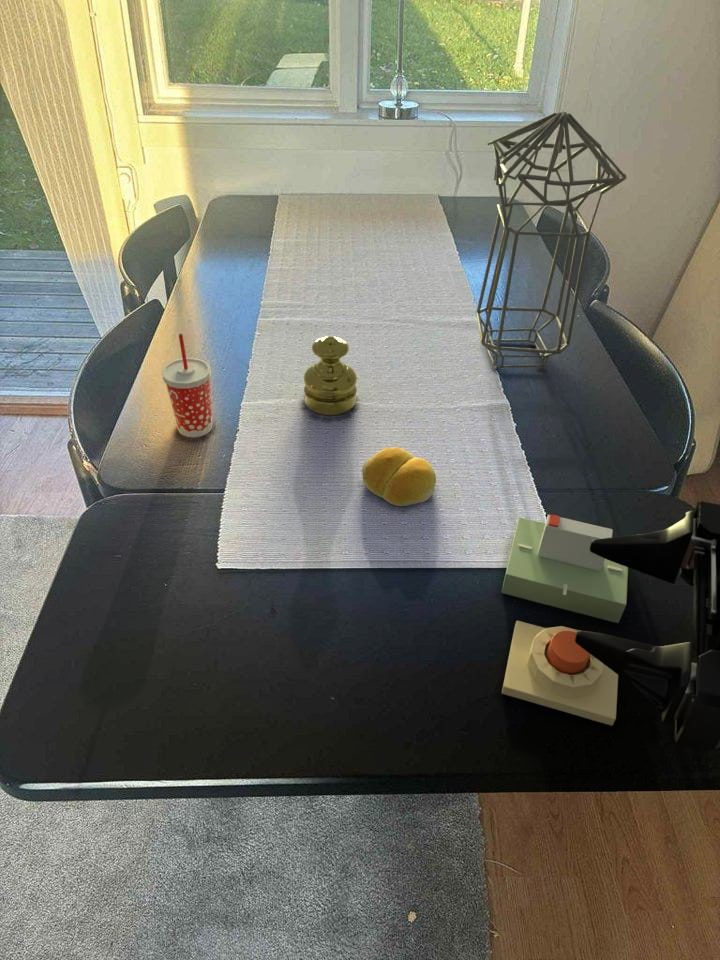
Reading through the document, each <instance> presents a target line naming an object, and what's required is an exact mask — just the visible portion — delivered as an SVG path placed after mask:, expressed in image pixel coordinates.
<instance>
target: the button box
mask: <svg viewBox="0 0 720 960" xmlns="http://www.w3.org/2000/svg"><path fill="white" fill-rule="evenodd" d="M560 631H573V632H576V633H577V631H580V630H579V629H574V628H571V627H568V626H563V625H560V626H553V627H543V626H539V625H536V624H533V623H532V624H531V623H528V622H525V621H521V620H516V621H515V624H514V627H513V633H512V639H511V643H510V649H509V653H508V658H507V664H506V669H505V674H504V680H503V683H502V688H501V694H502V695H506V696H509V697H512V698H516V699H519V700H522V701H526V702H530V703H532V704H536V705H539V706H543V707H546V708H550V709H553V710H556V711H561V712H564V713H568V714H571V715H573V716H576V717H580V718H584V719H588V720H591V721H595V722H598V723H602V724H605V725H609V726H611V727H612V726H614V723H615V721H616V719H617V704H618V689H619V688H618V686H619V675H618V674H616V673H615V672H614V671H612V670H611V669H610V668H608V667H607V666H606V665H604V664H603V663H602V662H600V661H599V660H598V659H596V658H595V657H594V656H592V655H591V654H590V657H589V659H588V662H587V664H586V667H585V668H584V669H583V670H582V671H581V672H579V673H576V674H567V673H563V672H561V671H559V670H557V669H556V668H554V667H553V666H552V665H551V663H550V662H549V660H548V656H547V651H548V647H549V645H550V642H551V639H552V637H553V636H554V635H555V634H556V633H558V632H560Z"/></svg>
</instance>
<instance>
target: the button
mask: <svg viewBox="0 0 720 960" xmlns="http://www.w3.org/2000/svg"><path fill="white" fill-rule="evenodd" d="M575 638H576V632H573V631H560V632H558V633H556V634H555V635H554V636H553V637H552V639H551V642H550V645H549V647H548V651H547V656H548V660H549V662H550V663H551V665H552V666H553V667H554V668H556V669H557V670H559V671H561V672H563V673H567V674H576V673H579V672H581V671H582V670H583V669H584V668H585V667H586V664H587V662H588V659H589V657H590V653H588V652H587V651H586V650H584V649H583V648H582V647H580V646H579V645H578V644H576V642H575Z"/></svg>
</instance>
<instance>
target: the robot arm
mask: <svg viewBox="0 0 720 960" xmlns="http://www.w3.org/2000/svg"><path fill="white" fill-rule="evenodd" d="M590 552H592V553H594V554H596V555H598V556H600V557H602V558H605V559H607V560H609V561H612V562H615V563H617V564H620V565H623V566H626V567H628V569H632V570H634V571H637V572H640V573H642V574H645V575H648V576H650V577H653V578H656V579H658V580H661V581H664V582H666V583H669V584H673V585H675V584H676V582H677V578H678V577H680V579H682V580H683V581H684V582H685V583H686V584H687V585H689V586H690V587H693V599H692V601H693V603H692V641H686V642H680V643H673V644H669V645H664V646H663V645H662V646H661V645H660V646H659V645H654V644H650V643H645V642H641V641H637V640H632V639H629V638H624V637H620V636H616V635H611V634H606V633H602V632H595V631H588V630H579V631H577V633H576V638H575V642H576V644H578V645H579V646H580V647H582V648H583V649H584V650H586V651H587V652H588V653H590V654H591V655H592V656H594V657H595V658H596V659H598V660H599V661H600V662H602V663H603V664H604V665H606V666H607V667H608V668H610V669H611V670H612V671H614V672H615V673H616V674H618V677H620V678H621V679H623V681H625V682H626V683H627V684H629V685H630V686H631V687H632V688H634V690H636V691H637V692H638V693H639V694H640V695H641V696H643V697H644V699H646V700H647V701H648V702H649V703H650V704H651V705H653V706H654V707H655V709H657V710H658V711H659V712H660V714H661V722H662V723H663V724H665V725H669V726H670V725H672V722H673V720H674V743H675V744H676V745H678V746H682V747H686V748H689V749H692V750H696V751H700V752H706V751H713V750H714V751H715V750H717V749H720V504H719V503H714V502H708V501H703V500H698V501H697V502H696V505H695V508H694V509H693V510H692V509H691V510H688V511H686V512H684V514H683V515H682V518H681V520H679V521H677V522H676V523H674V524H673V525H671V526H669V527H667V528H665V529H661V530H656V531H652V532H645V533H638V534H629V535H621V536H612V537H611V538H603V539H594V540H592V541H591V545H590ZM707 602H708V603H707ZM708 626H709V627H708ZM707 627H708V628H707ZM708 629H709V630H708ZM708 631H709V633H707V632H708Z"/></svg>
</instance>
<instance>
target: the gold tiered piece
mask: <svg viewBox="0 0 720 960" xmlns="http://www.w3.org/2000/svg"><path fill="white" fill-rule="evenodd" d="M349 349H350V347H349V344H348V342H347V341H345V340H344V339H343V338H340V337H336V336H332V335H331V336H330V335H329V336H323V337H320V338H318V339H316V340H315V341H314V342H313V343H312V345H311V351H312V353H313V354H314V355H315V356H316V357H318V358H319V361H317V362H316V363H314V364H313V363H312V364H311V365H310V366H308V367H307V369H306V370H305V371H304V374H303V382H304V387H303V392H304V403H305V405H306V406H307V408H308V409H310V410H311V411H312V412H314V413H317V414H320V415H324V416H336V415H337V416H338V415H342V414H345V413H347V412H349V411H350V410H351V409H353V408H354V407H355V405H356V403H357V392H358V391H357V389H358V388H357V386H356V385H357V382H358V376H357V373H356V371H355V370H354V368H353V367H352V366H350V365H349V364H347V363H345V362H344V361H343V360H341V358H343V357H345V356H346V355H348V353H349Z"/></svg>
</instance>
